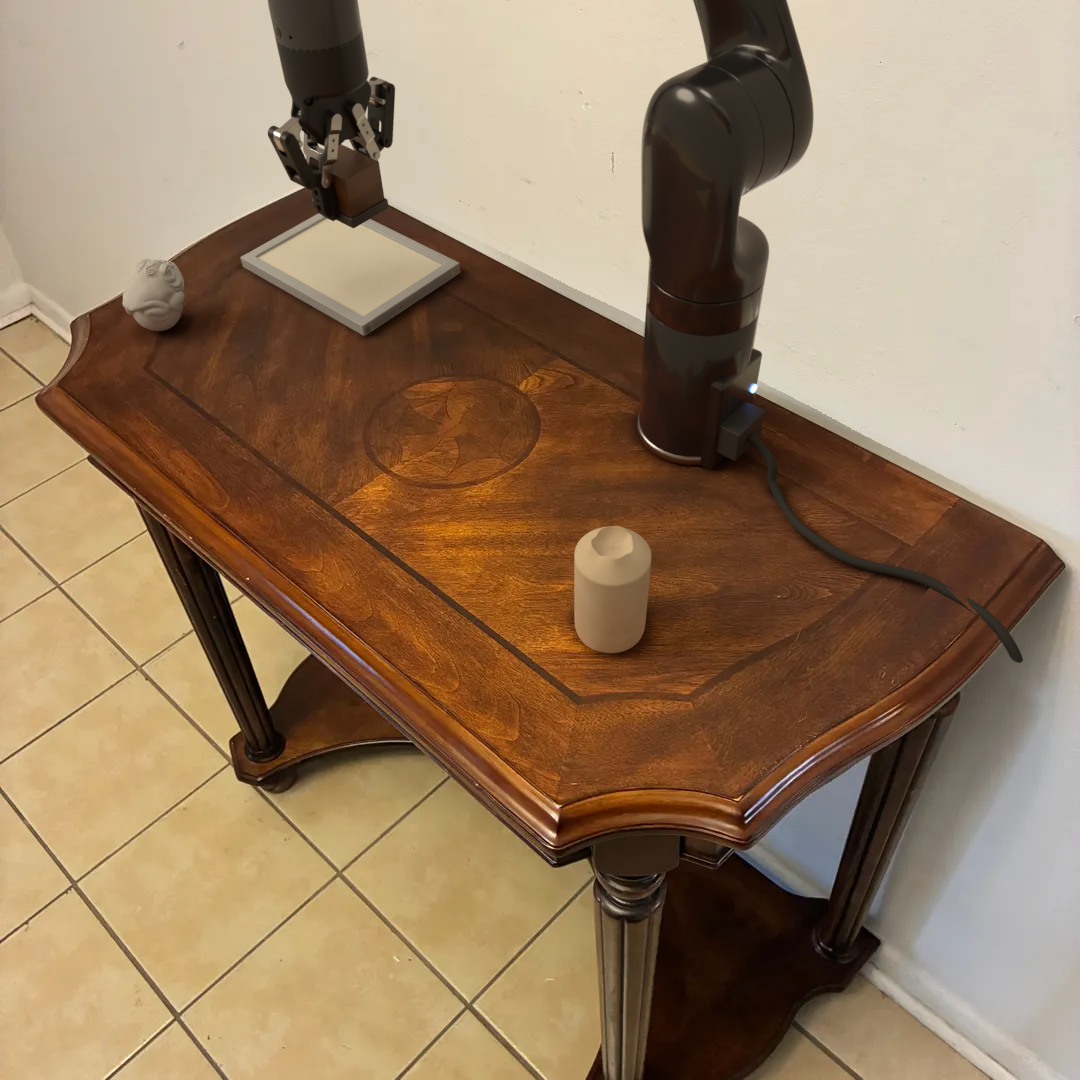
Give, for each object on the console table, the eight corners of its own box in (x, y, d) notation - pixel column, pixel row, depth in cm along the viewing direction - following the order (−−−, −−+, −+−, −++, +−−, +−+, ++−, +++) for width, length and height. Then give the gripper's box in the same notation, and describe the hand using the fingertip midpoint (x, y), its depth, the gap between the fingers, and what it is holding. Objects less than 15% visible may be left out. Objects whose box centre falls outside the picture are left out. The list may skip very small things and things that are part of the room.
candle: (646, 654, 75) (654, 571, 68) (574, 654, 75) (574, 572, 68) (643, 597, 79) (650, 512, 71) (574, 597, 79) (574, 512, 71)
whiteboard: (460, 272, 109) (459, 262, 108) (364, 336, 102) (362, 326, 101) (339, 212, 118) (337, 202, 117) (242, 267, 111) (239, 257, 110)
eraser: (389, 208, 99) (382, 160, 95) (353, 229, 96) (344, 181, 93) (348, 188, 101) (340, 141, 98) (312, 208, 99) (302, 161, 95)
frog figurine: (209, 312, 105) (189, 255, 100) (168, 350, 101) (145, 293, 96) (163, 299, 107) (141, 243, 102) (120, 337, 103) (96, 280, 98)
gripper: (281, 68, 81) (321, 251, 94) (407, 10, 87) (428, 188, 100) (224, 44, 84) (270, 224, 97) (350, -10, 91) (377, 165, 104)
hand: (350, 204), depth 99 cm, fingers closed on eraser, 4 cm apart
